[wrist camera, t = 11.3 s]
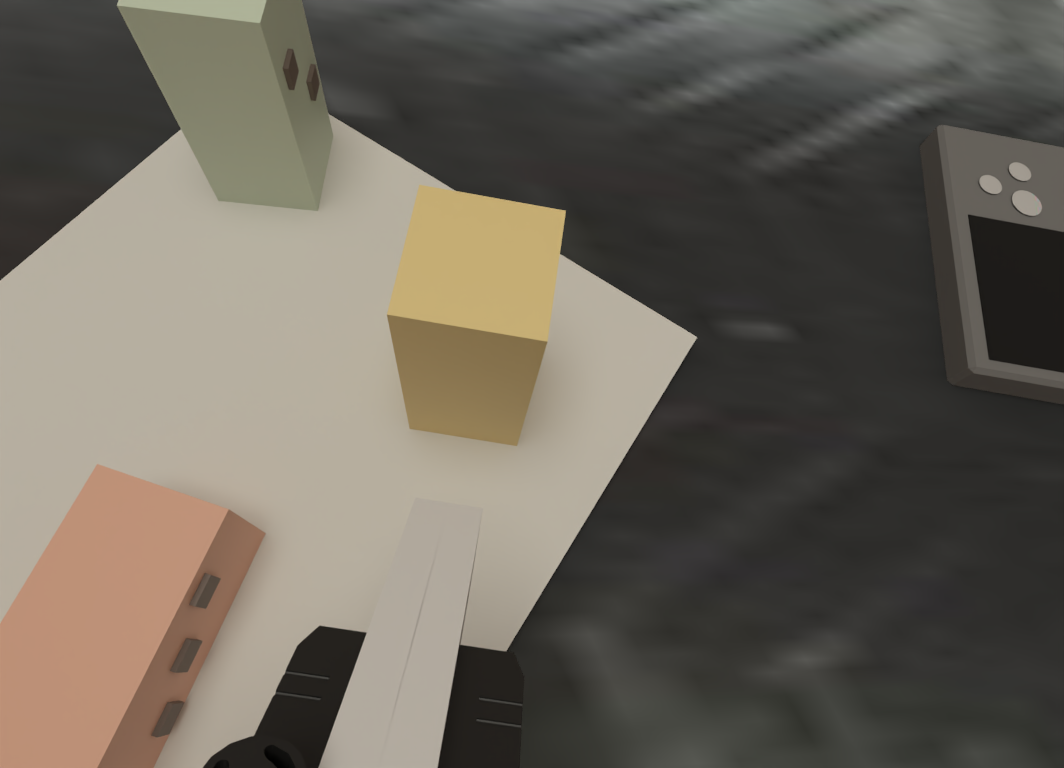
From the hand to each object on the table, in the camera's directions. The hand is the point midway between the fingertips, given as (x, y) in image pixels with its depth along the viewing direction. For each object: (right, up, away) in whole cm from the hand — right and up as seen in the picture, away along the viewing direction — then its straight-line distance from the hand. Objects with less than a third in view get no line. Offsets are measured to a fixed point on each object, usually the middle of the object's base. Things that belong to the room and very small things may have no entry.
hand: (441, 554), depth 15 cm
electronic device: (+28, +10, +21) cm, 36 cm away
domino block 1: (-10, +14, +17) cm, 24 cm away
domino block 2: (-13, -9, +5) cm, 16 cm away
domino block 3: (-1, +4, +14) cm, 14 cm away
